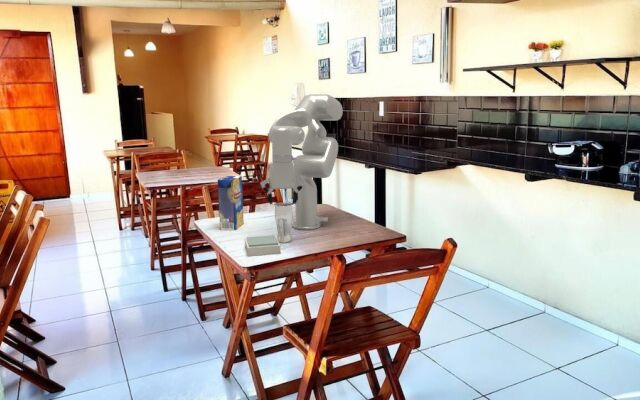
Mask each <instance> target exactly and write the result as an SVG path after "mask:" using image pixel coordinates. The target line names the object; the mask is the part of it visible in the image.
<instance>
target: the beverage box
mask: <svg viewBox="0 0 640 400" xmlns="http://www.w3.org/2000/svg"><path fill="white" fill-rule="evenodd" d="M242 178H243V177H242V175H241V176H240V175H226V176H224V177H221V178H218V179H217V194H218V211H219V213H218V214H219V215H218V216H219V230H220V231H236V230H238V229H239V228H241V227H242V226H243V225H245V223H244V222H245V220H244V200H243V199H244V197H243V179H242Z"/></svg>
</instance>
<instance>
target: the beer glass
mask: <svg viewBox="0 0 640 400" xmlns="http://www.w3.org/2000/svg"><path fill="white" fill-rule="evenodd" d="M274 205H275V208H274V219H275V225H276V229H277V237H276V238H277V240H278V242H279V244H288V243H291V242H292V241H293V237H292V224H293V217H294V216H293V205H292V203H289V202H278V203H276V204H274Z"/></svg>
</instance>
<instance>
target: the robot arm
mask: <svg viewBox="0 0 640 400" xmlns="http://www.w3.org/2000/svg"><path fill="white" fill-rule="evenodd" d="M343 112H344V111H343V106H342V104H341V102H340V101H339V100H338V99H336V98H335V97H334V96H333V95H330V94H326V93H323V94H322V93H320V94H319V93H317V94H311V93H310V94H307V95H305V96H304V97H302V99H301V100H300V101H299V103H298V104H297V106H296V107H295V109H294V110H292V111H289V112H287V113H285V114H284V115H282V116H280V117H278V118H277V119H275V121H274V122H273V123H272V125H271V127H270V129H269V131H268V139H269V141H270V143H271V147H272V148H271V150H272V154H271V155H272V156H271V157H272V159H271V160H272V161H271V162H270V164H269V173H268V178H266V179H264V180H263V181H261V182H259V184H260V187H261V188H262V190H263V191H265V192H266V193H267V202H268V203H269V204H270V205H272V204H273V194H272V192H273V191H274V190H283V189H284V190H287V189H289V190H291V189H292V190H293V194H292V197H293V199H292V200H293V201H292V202H293V203H294V204H295V207H294V208H295V209H294V211H295V215H294V216H295V221H294V222H292V226H291V228H293V229H297V230H303V231H306V230H307V231H308V230H311V231H312V230H317V229H319V228H321V226H322V225H321V223H323V222H324V223H325V222H326V223H328V221H329V218H328V217H327V216H325V217H324V216H318V189H317V185H316V182H315V180H314V179H313V178H319V179H327V178H329V177H331V175H332V172H333V170H334V166H335V163H336V161H337V160H336V159H337V157H338V152H339V143H338V142H337V141H338V140H336V138H334V137H331V136H330V137H329V136H327V130H326V128H325V127H324V125H323V124H322V123H321V121H339V120H340V119H341V118H342V116H343V114H344V113H343ZM305 127H307V133H305V131H304V129H303V128H305ZM305 135H306V136H305ZM302 143H303V144H302ZM301 144H302V147H301V152H302V154H301V155H297V156H294V155H292V154H293V153H292V152H293V147H292V146H299V145H301ZM267 184H268V185H269V187H268V188H267V187H266V185H267Z"/></svg>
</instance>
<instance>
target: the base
mask: <svg viewBox="0 0 640 400" xmlns="http://www.w3.org/2000/svg"><path fill="white" fill-rule="evenodd" d="M244 248H245V251H246V254H247V257H255V256H268V255H269V256H270V255H280V254H281V250H282V249H281V243H279V242H278V240H277V237H276V236H275V234H273V235H258V236H257V235H256V236H247V237H246V238H244Z"/></svg>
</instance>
